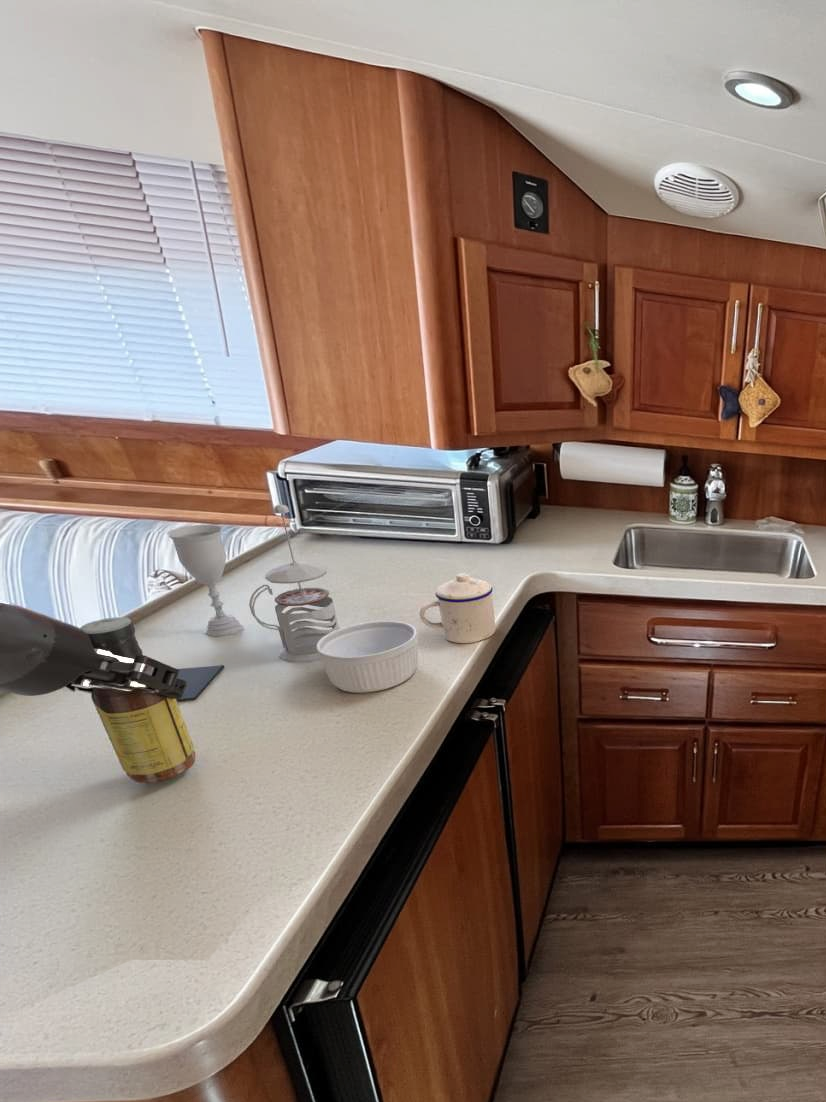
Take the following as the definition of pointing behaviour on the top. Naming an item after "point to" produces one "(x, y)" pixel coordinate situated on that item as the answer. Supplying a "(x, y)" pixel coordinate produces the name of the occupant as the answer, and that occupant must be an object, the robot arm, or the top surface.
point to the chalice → (205, 568)
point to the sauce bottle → (139, 714)
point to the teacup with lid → (463, 610)
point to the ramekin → (369, 655)
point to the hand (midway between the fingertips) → (148, 689)
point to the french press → (303, 639)
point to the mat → (197, 680)
